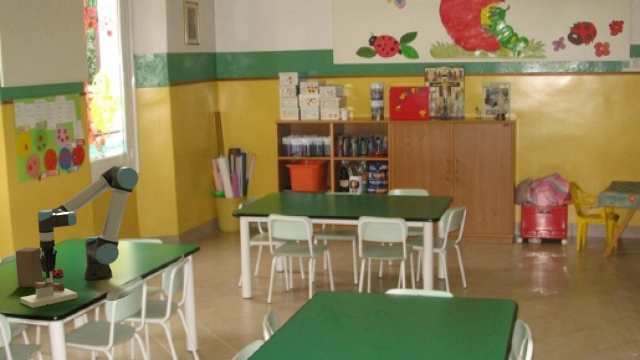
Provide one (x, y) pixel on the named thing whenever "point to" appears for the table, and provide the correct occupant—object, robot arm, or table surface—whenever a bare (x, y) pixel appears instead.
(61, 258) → the table surface
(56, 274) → the toy fire truck
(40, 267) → the block
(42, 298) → the white slotted base
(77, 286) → the table surface
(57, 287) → the folding leg
